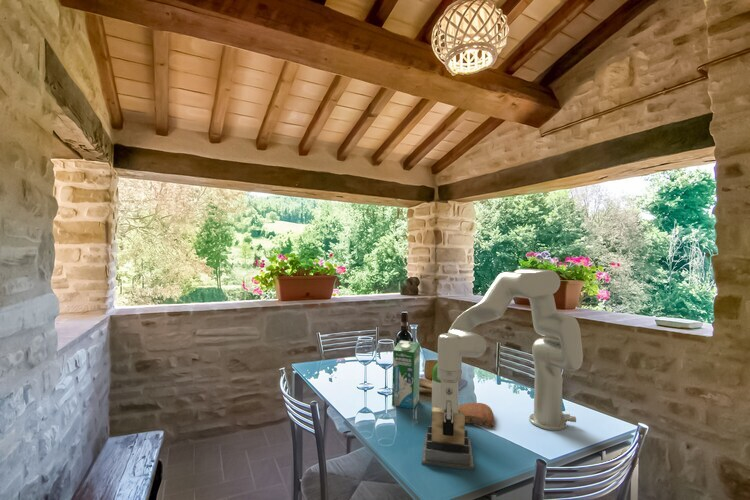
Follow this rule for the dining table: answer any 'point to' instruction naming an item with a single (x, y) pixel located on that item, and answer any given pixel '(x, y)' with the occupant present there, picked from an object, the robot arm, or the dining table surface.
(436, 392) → the wine bottle
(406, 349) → the milk carton
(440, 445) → the rack
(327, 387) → the dining table surface
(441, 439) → the oak board
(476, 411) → the ceramic shard
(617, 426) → the dining table surface
